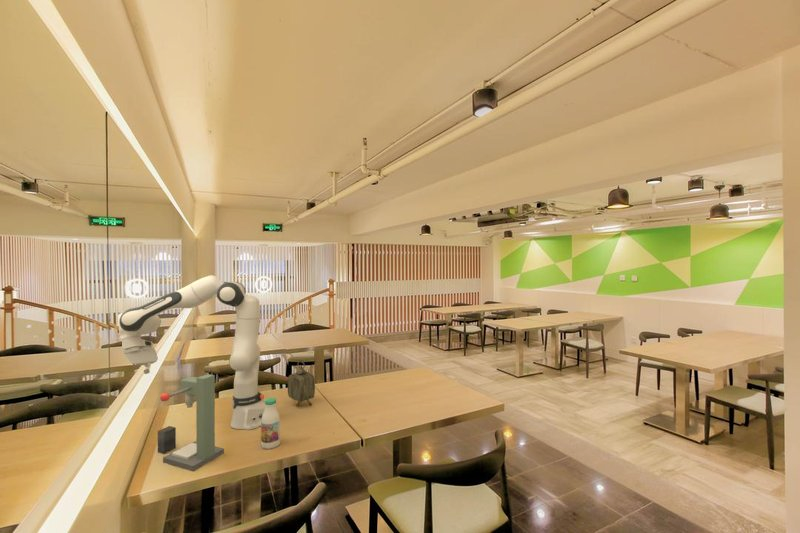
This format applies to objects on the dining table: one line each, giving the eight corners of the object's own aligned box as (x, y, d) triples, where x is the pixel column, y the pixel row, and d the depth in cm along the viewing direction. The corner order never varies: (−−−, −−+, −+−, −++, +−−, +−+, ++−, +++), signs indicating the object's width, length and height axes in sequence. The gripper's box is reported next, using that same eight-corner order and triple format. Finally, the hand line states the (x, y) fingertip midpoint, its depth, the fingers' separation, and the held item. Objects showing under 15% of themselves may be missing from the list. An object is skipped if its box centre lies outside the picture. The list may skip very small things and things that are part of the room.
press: (143, 472, 132) (143, 383, 132) (195, 445, 152) (194, 368, 152) (174, 482, 126) (174, 388, 126) (224, 453, 146) (223, 372, 146)
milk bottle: (264, 441, 156) (264, 396, 156) (281, 440, 156) (281, 395, 156) (258, 450, 148) (258, 403, 148) (277, 449, 149) (277, 402, 149)
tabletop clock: (315, 405, 196) (314, 361, 196) (301, 410, 189) (300, 364, 189) (300, 399, 205) (300, 357, 205) (286, 404, 198) (286, 360, 198)
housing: (169, 446, 151) (169, 426, 151) (175, 448, 150) (175, 427, 150) (157, 452, 147) (157, 431, 147) (164, 454, 145) (164, 432, 145)
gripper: (110, 345, 149) (117, 376, 146) (156, 341, 169) (163, 368, 165) (100, 351, 151) (107, 382, 147) (146, 347, 170) (153, 374, 167)
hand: (137, 375), depth 156 cm, fingers open, 8 cm apart
